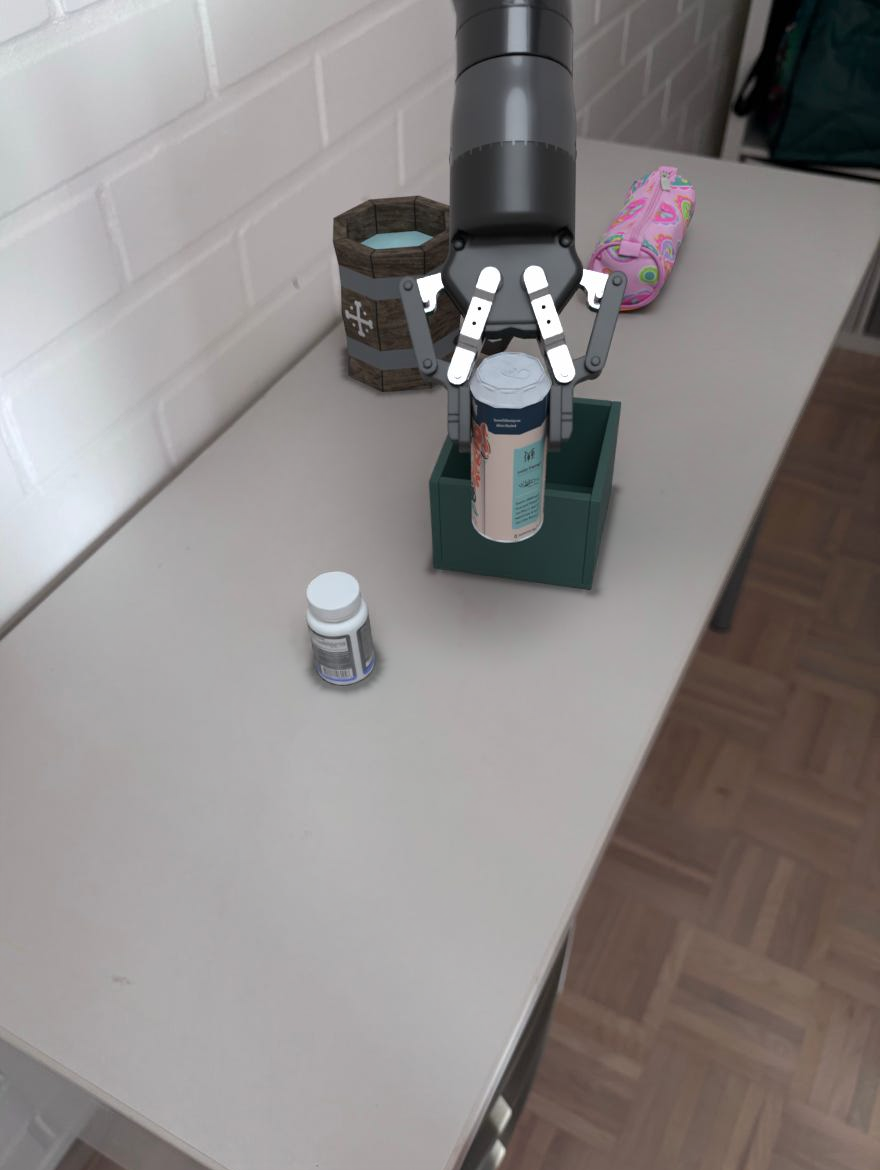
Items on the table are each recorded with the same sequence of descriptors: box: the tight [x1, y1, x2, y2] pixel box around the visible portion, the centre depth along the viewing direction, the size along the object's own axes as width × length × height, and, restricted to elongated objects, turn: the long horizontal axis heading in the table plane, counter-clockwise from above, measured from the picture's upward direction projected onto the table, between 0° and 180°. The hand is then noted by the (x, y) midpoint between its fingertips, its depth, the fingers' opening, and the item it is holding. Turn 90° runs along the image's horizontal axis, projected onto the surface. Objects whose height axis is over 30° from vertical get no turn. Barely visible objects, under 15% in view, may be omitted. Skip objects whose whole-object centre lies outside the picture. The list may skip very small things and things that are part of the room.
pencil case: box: [586, 165, 697, 312], centre depth 114 cm, size 21×9×9 cm, turn 157°
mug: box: [332, 195, 514, 393], centre depth 102 cm, size 20×14×15 cm
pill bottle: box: [305, 570, 376, 686], centre depth 75 cm, size 5×5×8 cm
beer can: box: [469, 351, 552, 543], centre depth 62 cm, size 5×5×12 cm
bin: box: [428, 396, 622, 591], centre depth 84 cm, size 14×14×10 cm
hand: (509, 449), depth 59 cm, fingers closed on beer can, 4 cm apart
